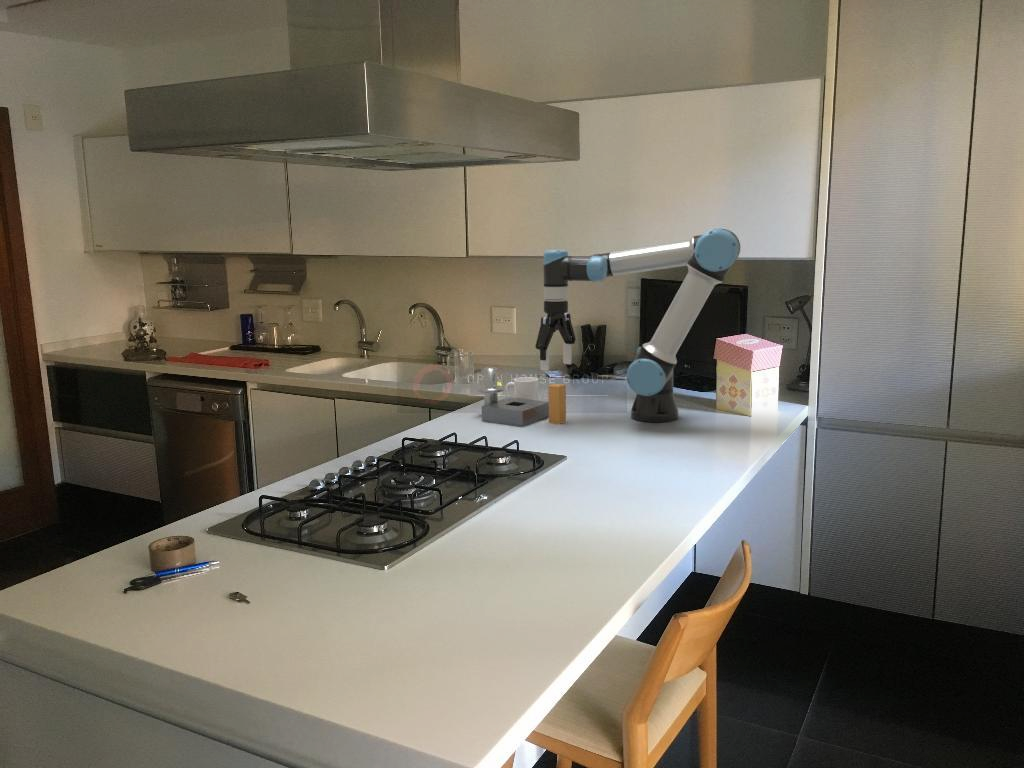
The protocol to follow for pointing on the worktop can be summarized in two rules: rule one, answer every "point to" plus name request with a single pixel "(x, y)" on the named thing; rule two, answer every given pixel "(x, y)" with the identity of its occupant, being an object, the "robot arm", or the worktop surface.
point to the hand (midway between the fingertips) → (556, 367)
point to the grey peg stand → (509, 404)
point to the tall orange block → (557, 403)
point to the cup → (524, 388)
